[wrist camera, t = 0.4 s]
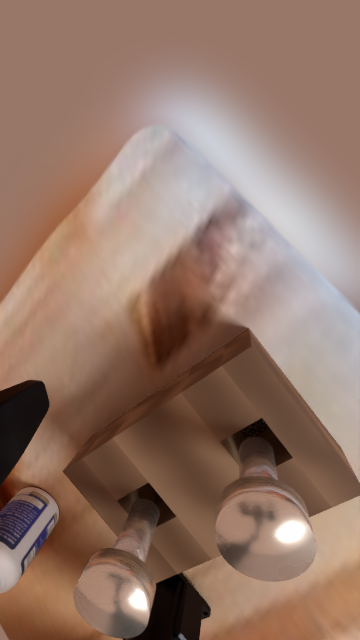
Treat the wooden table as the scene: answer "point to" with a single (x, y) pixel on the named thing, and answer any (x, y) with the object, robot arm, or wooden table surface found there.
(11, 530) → the pill bottle
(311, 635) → the wooden table surface
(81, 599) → the far plunger
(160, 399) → the block
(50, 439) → the wooden table surface
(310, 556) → the near plunger
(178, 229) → the wooden table surface
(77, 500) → the wooden table surface
